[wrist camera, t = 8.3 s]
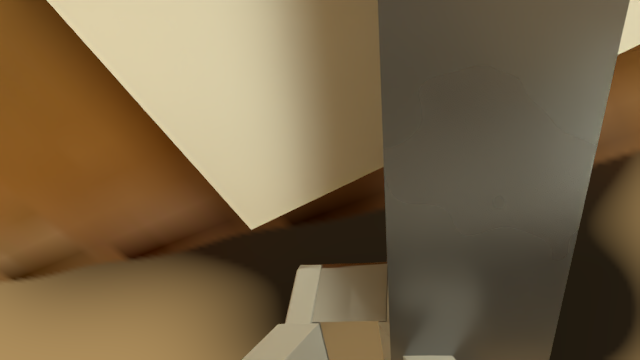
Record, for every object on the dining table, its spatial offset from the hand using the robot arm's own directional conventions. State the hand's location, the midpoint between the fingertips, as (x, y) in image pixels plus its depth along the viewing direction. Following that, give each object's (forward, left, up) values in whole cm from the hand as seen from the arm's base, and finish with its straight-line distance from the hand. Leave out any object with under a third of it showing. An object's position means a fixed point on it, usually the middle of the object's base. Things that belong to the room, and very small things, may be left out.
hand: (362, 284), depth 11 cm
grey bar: (-6, +6, -1) cm, 9 cm away
